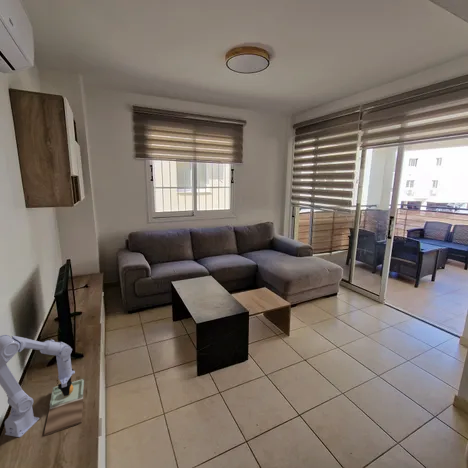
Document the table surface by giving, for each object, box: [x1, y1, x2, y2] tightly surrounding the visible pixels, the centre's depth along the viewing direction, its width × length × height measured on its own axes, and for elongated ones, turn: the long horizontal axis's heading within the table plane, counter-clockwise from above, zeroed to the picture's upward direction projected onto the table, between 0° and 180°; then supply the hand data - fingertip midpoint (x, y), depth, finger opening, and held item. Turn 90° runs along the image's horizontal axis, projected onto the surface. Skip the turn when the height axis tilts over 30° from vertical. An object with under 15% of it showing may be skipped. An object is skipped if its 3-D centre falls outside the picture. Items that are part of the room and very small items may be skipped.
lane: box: [43, 388, 85, 437], centre depth 127 cm, size 27×14×1 cm, turn 27°
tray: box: [49, 378, 85, 408], centre depth 134 cm, size 12×14×2 cm
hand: (67, 389), depth 133 cm, fingers open, 7 cm apart
